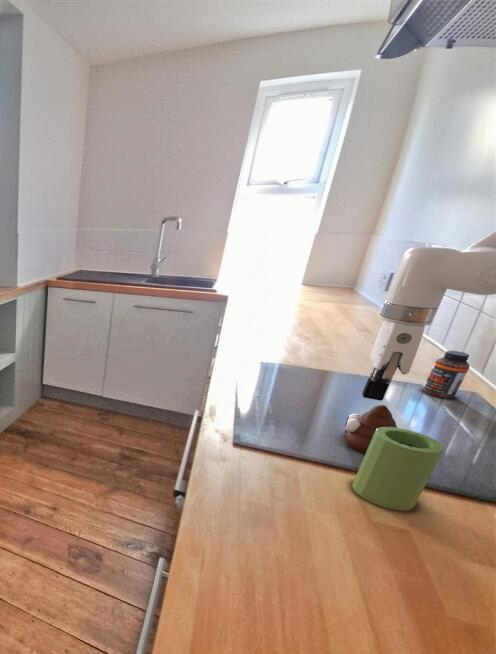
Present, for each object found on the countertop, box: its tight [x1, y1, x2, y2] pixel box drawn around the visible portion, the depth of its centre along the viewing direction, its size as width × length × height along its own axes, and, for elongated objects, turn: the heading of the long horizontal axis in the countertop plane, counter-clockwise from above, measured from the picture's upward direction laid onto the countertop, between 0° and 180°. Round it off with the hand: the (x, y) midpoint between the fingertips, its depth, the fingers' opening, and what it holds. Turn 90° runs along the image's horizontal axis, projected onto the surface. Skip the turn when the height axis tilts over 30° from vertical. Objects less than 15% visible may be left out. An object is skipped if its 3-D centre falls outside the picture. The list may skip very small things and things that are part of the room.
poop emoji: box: [343, 404, 398, 454], centre depth 82 cm, size 10×8×9 cm
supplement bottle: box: [422, 350, 471, 399], centre depth 104 cm, size 6×6×11 cm
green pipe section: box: [352, 427, 445, 512], centre depth 67 cm, size 8×8×11 cm
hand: (371, 397), depth 88 cm, fingers closed
